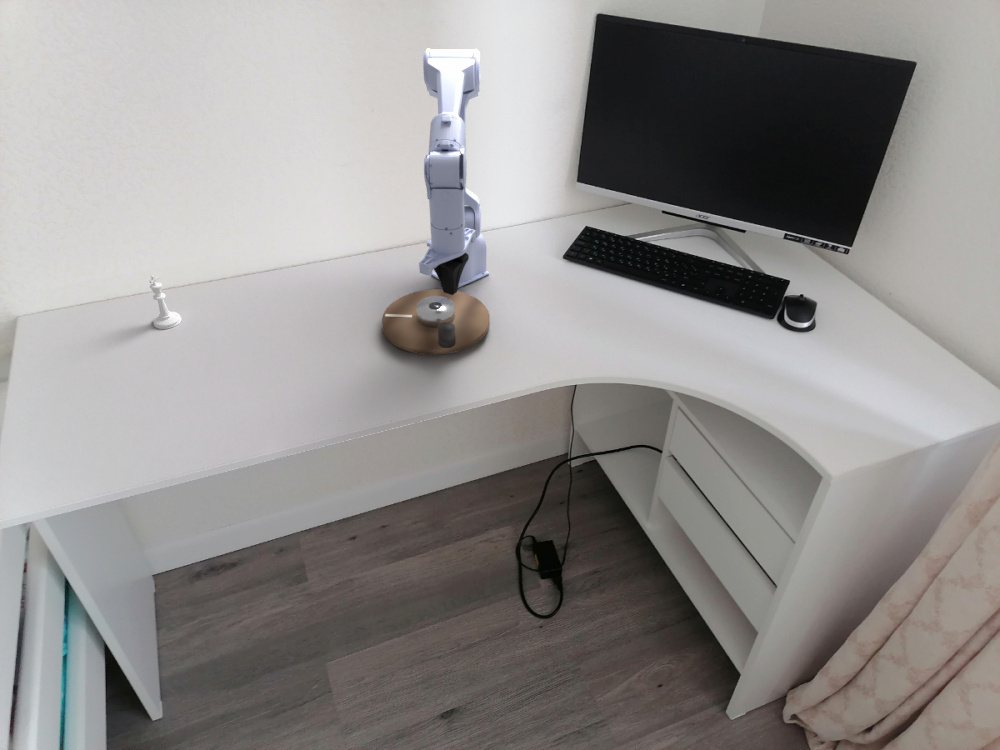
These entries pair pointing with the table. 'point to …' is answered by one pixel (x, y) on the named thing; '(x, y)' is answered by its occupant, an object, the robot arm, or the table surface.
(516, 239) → the table surface
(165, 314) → the chess piece
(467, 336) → the turntable
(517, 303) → the table surface
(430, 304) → the cover
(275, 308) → the table surface
